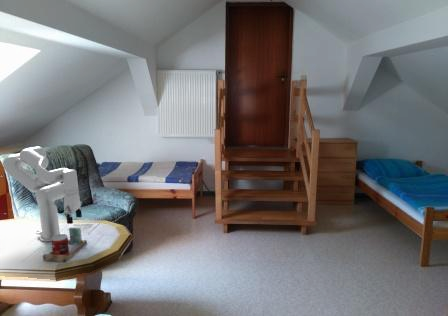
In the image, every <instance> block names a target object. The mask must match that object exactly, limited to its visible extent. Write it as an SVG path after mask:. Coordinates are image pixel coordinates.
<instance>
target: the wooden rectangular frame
mask: <svg viewBox="0 0 448 316" xmlns="http://www.w3.org/2000/svg"><path fill="white" fill-rule="evenodd" d="M68 230H69V233H68V234H69V238H68V244H73V245H74V244H78V245H77V246H76V247H75V248H73V249H72V251H71V252H70V251H69V254H68V255H56V254H53V250H51V251H50V252H49V253H44V254H43V255H42V260H43V261H44V262H61V263H62V262H63V263H65V262H68V261H69V260H70V258H71V257H72V256H74V255H75V254H76V253H78V251H79V250H81V249H82V248H83V247H84V246H85V245H86V244H88V240H87V239H82V228H81V227H69V228H68Z"/></svg>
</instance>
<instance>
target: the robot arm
mask: <svg viewBox="0 0 448 316" xmlns="http://www.w3.org/2000/svg"><path fill="white" fill-rule="evenodd" d="M49 162H50V161H49V159H48V158H47V151H46V149H45V148H43V147H42V146H33V147H27V148H24V149H23V150H21V151H20V152H19V153H14V154H11V155H7V156H6V157H5V158H4V159H3V161H2V167H3V169H4V171H5V172H6V173H7V174H8V176H9V177H11V178H13V179H14V180H16V181H18V182H19V183H20V184H21V185H22V186H23V187H25V188H26V189H27V190H28V191H29V192H32V193H35V199H36V202H37V205H38V211H39V218H40V227H41V228H40V229H37V230H36V235H39V240H40V241H41V242H45V243H46V242H47V243H48V242H51V238H52V237H53V236H55V235H58V234H64V233H63V232H62V231H60V223H59V222H60V221H59V214H58V207H57V206H56V205H55V203H54V201H57V200H60V199H63V209H64V210H63V214H64V216H65V218H66V223H67V224H68V225H69V224H71V225H72V224H74V220H73V213H75V217H76V218H82V217H83V215H82V207H83V206H82V205H83V204H82V203H83V202H82V200H81V197H80V191H79V182H78V174H77V170H76V169H73V168H72V169H69V168H67V167H60V168H56V169H51V170H48V169H47V168H48V166H49ZM29 166H30V167H32V168H33V169H34V170H35V174H34V173H33V172H32V171H31V170H29V169H27V168H24V167H29Z"/></svg>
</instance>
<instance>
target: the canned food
mask: <svg viewBox="0 0 448 316" xmlns="http://www.w3.org/2000/svg"><path fill="white" fill-rule="evenodd" d="M68 239H69V238H68V235H67V234H65V233H63V234H58V235H55V236H53V237H52V238H51V241H50V242H51V251H53V254H56V255H68V254H69V253H70V249H69V243H68Z"/></svg>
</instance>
